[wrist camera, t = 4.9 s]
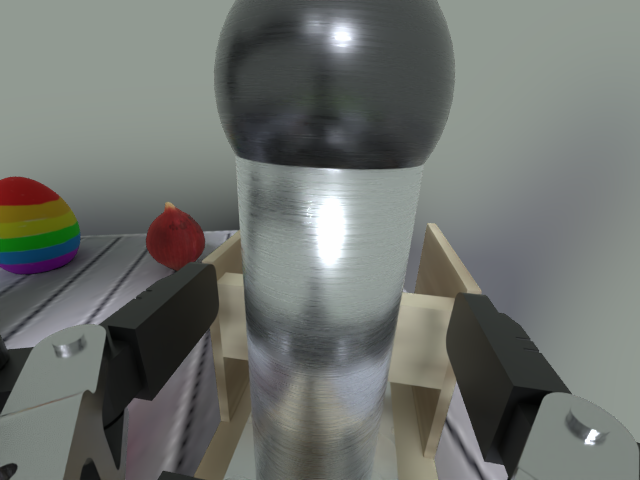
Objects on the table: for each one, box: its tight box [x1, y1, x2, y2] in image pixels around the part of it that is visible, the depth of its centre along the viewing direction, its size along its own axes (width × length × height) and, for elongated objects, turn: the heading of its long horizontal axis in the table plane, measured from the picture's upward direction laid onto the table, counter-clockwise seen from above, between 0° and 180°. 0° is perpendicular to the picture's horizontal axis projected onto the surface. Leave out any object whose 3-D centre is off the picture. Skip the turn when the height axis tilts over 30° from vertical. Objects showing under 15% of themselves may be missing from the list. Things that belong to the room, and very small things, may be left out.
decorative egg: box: [0, 177, 80, 274], centre depth 32 cm, size 8×8×10 cm
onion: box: [146, 202, 205, 271], centre depth 33 cm, size 6×6×8 cm
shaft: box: [214, 0, 455, 480], centre depth 12 cm, size 6×13×16 cm, turn 171°
